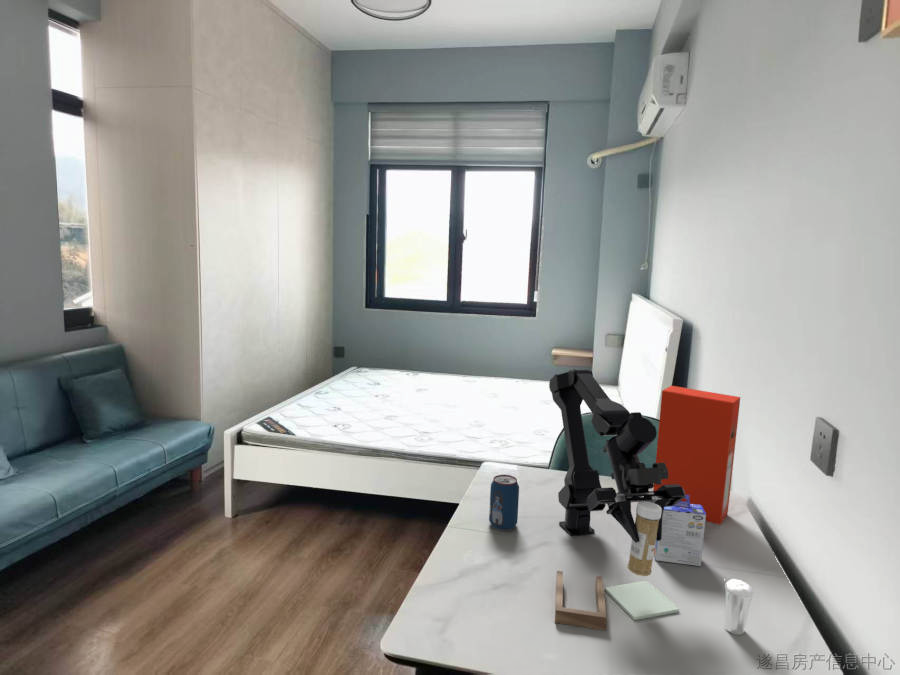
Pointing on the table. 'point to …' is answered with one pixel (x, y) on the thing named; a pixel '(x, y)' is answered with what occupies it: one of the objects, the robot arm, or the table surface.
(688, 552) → the ink cartridge box
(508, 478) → the soda can
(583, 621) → the wooden holder
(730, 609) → the milkshake
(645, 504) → the sprinkles bottle
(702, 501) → the red box
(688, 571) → the table surface
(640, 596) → the pad
